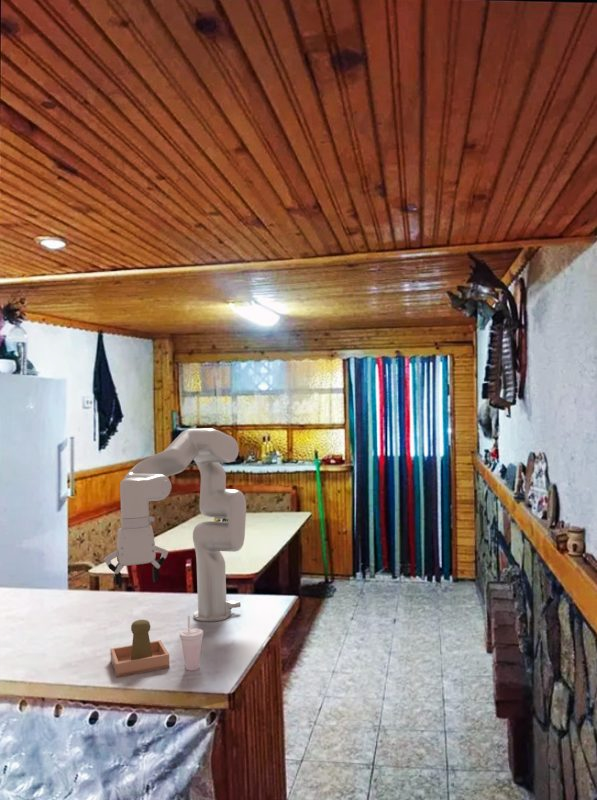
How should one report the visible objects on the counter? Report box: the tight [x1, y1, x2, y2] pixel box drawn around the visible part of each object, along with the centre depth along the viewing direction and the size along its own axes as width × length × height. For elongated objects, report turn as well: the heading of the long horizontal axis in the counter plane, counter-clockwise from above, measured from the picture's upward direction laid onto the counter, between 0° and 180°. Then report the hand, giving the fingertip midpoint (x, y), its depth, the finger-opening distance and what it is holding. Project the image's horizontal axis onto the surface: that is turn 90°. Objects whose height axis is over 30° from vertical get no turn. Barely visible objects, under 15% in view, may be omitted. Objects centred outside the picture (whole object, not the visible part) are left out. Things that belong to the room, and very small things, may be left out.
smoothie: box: [179, 615, 204, 671], centre depth 176 cm, size 6×6×14 cm
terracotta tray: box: [110, 639, 170, 678], centre depth 179 cm, size 14×12×4 cm
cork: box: [130, 619, 152, 660], centre depth 180 cm, size 6×6×11 cm
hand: (137, 584), depth 180 cm, fingers open, 9 cm apart
